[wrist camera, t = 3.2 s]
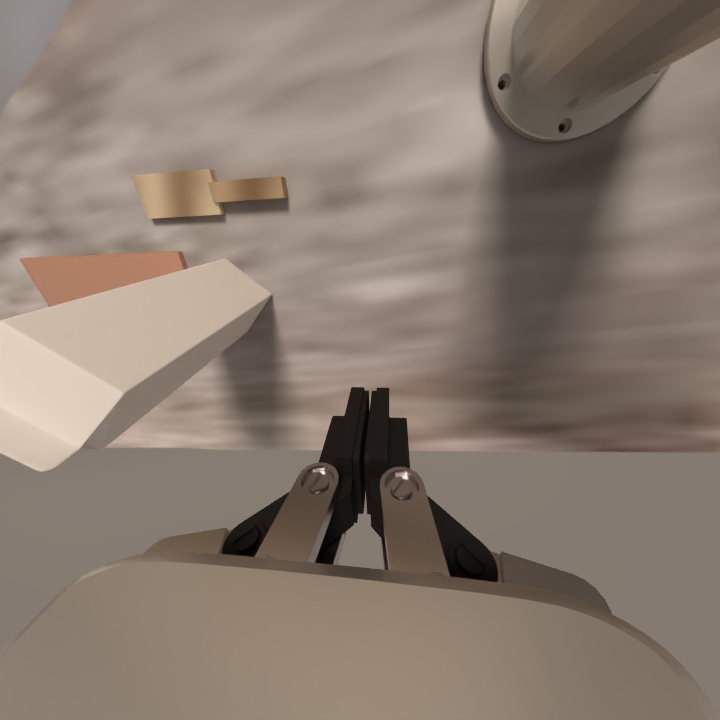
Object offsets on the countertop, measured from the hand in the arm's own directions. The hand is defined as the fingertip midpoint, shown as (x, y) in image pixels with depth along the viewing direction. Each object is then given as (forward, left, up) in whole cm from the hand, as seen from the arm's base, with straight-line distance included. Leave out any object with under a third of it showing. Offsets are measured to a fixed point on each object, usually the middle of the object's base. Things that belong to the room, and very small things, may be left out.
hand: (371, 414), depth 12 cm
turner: (-10, -17, -19) cm, 27 cm away
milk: (0, -17, -19) cm, 25 cm away
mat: (0, -32, -19) cm, 37 cm away
